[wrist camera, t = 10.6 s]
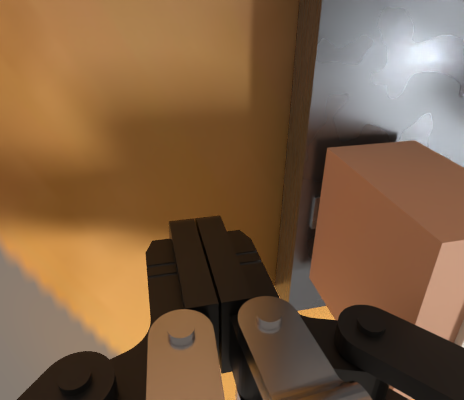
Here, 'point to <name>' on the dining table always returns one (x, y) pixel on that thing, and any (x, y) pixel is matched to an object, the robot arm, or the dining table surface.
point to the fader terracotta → (393, 235)
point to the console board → (364, 103)
